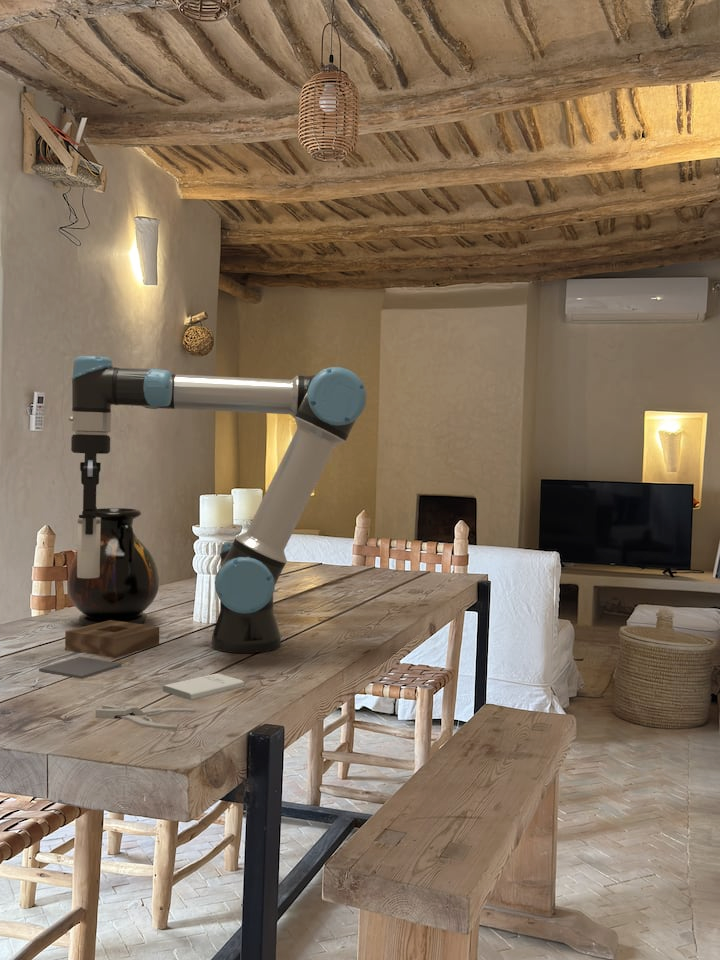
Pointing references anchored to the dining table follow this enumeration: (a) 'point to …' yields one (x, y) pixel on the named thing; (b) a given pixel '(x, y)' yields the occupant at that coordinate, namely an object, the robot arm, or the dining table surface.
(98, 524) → the plug
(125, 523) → the amphora vase
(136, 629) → the socket block
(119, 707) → the pliers
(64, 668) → the mat
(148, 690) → the dining table surface
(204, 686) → the external hard drive
